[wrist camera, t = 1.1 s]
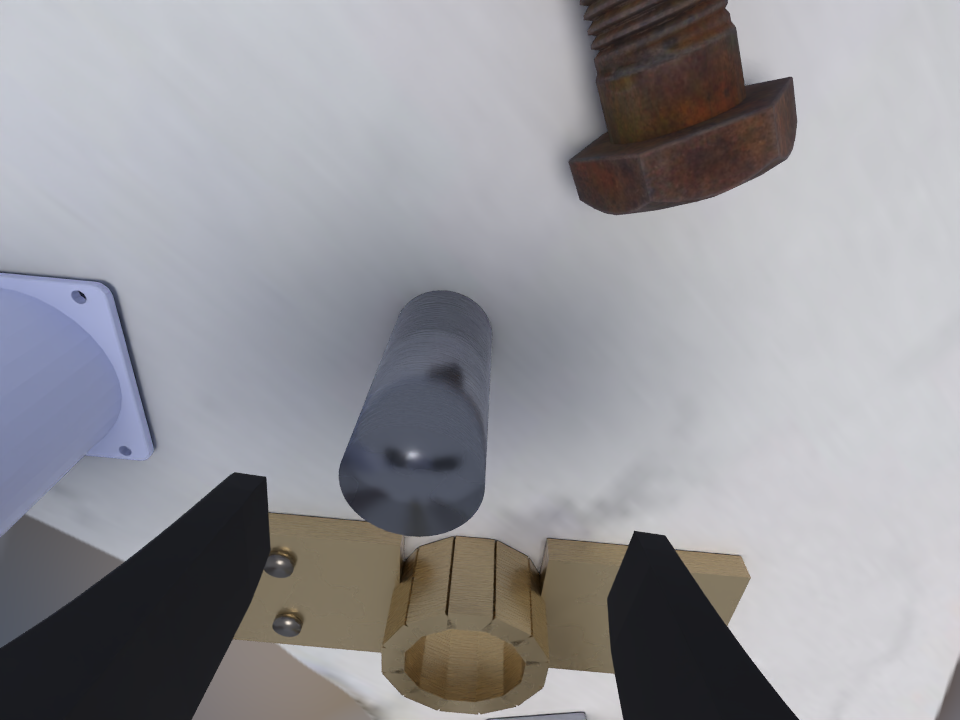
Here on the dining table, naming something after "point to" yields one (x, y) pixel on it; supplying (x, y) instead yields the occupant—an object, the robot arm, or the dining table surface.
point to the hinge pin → (424, 421)
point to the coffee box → (550, 717)
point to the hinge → (452, 607)
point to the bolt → (676, 108)
